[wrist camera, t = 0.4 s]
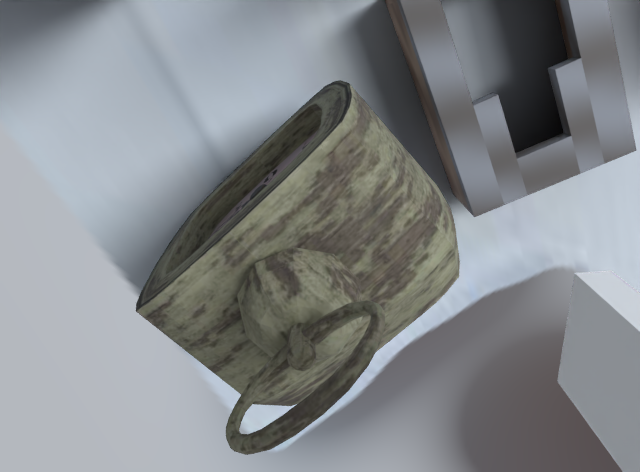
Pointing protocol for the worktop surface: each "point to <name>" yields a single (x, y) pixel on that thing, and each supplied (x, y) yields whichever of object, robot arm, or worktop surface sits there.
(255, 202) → the tabletop clock
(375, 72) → the worktop surface
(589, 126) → the keyhole block
